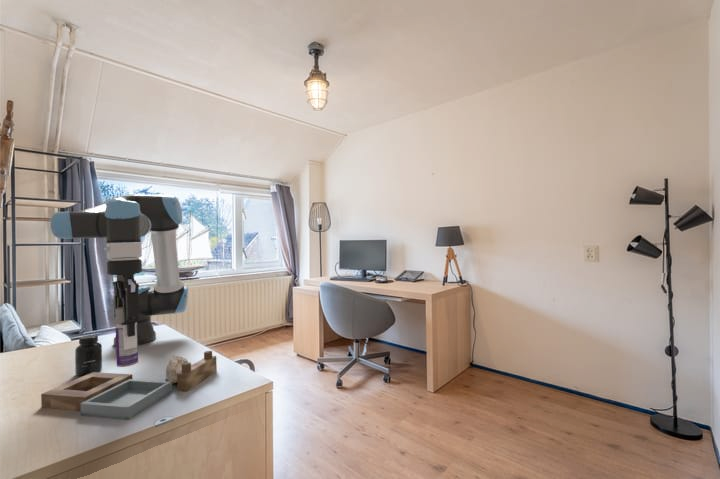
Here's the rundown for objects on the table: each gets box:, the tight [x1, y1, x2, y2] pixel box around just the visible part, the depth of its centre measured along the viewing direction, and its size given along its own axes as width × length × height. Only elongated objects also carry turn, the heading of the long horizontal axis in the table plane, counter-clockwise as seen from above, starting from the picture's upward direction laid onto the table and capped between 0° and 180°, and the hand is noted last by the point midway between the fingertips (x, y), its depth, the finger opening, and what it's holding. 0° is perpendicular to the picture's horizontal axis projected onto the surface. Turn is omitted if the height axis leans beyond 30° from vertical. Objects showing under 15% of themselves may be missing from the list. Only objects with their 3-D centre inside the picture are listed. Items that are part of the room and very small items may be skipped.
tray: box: [80, 379, 173, 420], centre depth 87 cm, size 14×14×3 cm
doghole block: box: [40, 371, 133, 411], centre depth 92 cm, size 14×14×4 cm
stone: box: [165, 354, 189, 384], centre depth 102 cm, size 8×12×10 cm, turn 31°
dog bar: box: [176, 350, 218, 392], centre depth 100 cm, size 14×3×7 cm, turn 170°
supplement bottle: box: [74, 334, 103, 377], centre depth 108 cm, size 7×7×12 cm
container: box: [115, 307, 139, 368], centre depth 87 cm, size 5×5×15 cm
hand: (127, 346), depth 87 cm, fingers closed on container, 5 cm apart
